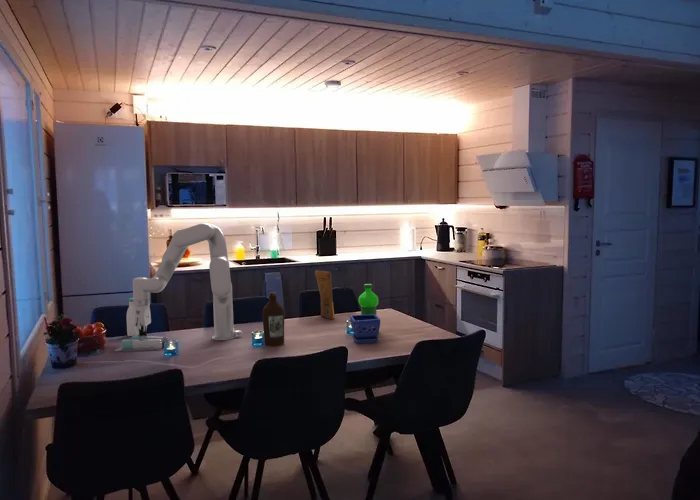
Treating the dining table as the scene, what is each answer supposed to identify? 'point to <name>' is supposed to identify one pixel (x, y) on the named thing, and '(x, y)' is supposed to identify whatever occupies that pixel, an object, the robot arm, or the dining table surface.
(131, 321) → the milk bottle
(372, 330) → the flower pot
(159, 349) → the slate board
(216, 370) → the dining table surface
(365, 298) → the plastic bottle
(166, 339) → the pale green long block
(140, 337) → the toothpaste tube
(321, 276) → the pancake mix bag
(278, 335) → the olive oil
